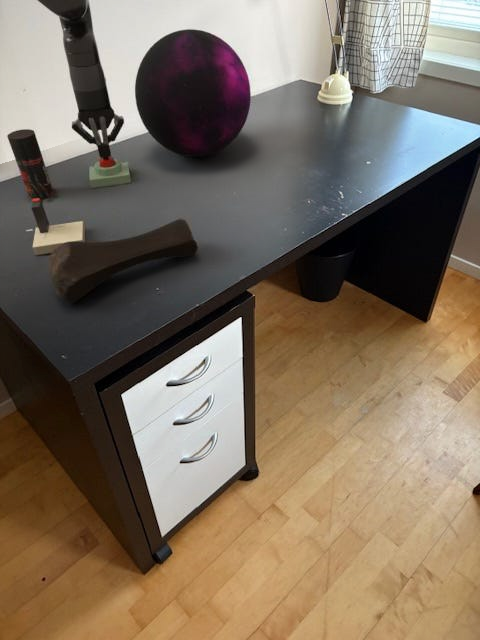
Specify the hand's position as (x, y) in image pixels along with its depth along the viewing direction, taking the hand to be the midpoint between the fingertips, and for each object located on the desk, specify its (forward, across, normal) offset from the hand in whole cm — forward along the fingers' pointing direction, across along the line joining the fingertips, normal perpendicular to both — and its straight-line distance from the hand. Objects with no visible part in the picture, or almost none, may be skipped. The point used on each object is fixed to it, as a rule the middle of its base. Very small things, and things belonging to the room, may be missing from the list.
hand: (106, 158), depth 120 cm
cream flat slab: (+6, -12, -26) cm, 30 cm away
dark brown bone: (+6, +2, -43) cm, 43 cm away
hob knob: (+3, -14, -25) cm, 29 cm away
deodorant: (+6, -17, -4) cm, 19 cm away
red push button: (+2, 0, 0) cm, 2 cm away
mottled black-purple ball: (+6, +25, +10) cm, 27 cm away
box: (+6, 0, 0) cm, 6 cm away
